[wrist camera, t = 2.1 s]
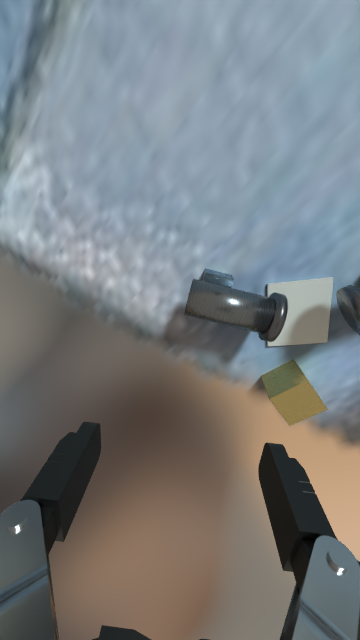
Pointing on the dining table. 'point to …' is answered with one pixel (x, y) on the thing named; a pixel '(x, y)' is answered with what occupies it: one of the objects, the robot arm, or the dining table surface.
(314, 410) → the block
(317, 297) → the plate
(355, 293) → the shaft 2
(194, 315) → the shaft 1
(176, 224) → the dining table surface
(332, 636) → the robot arm
